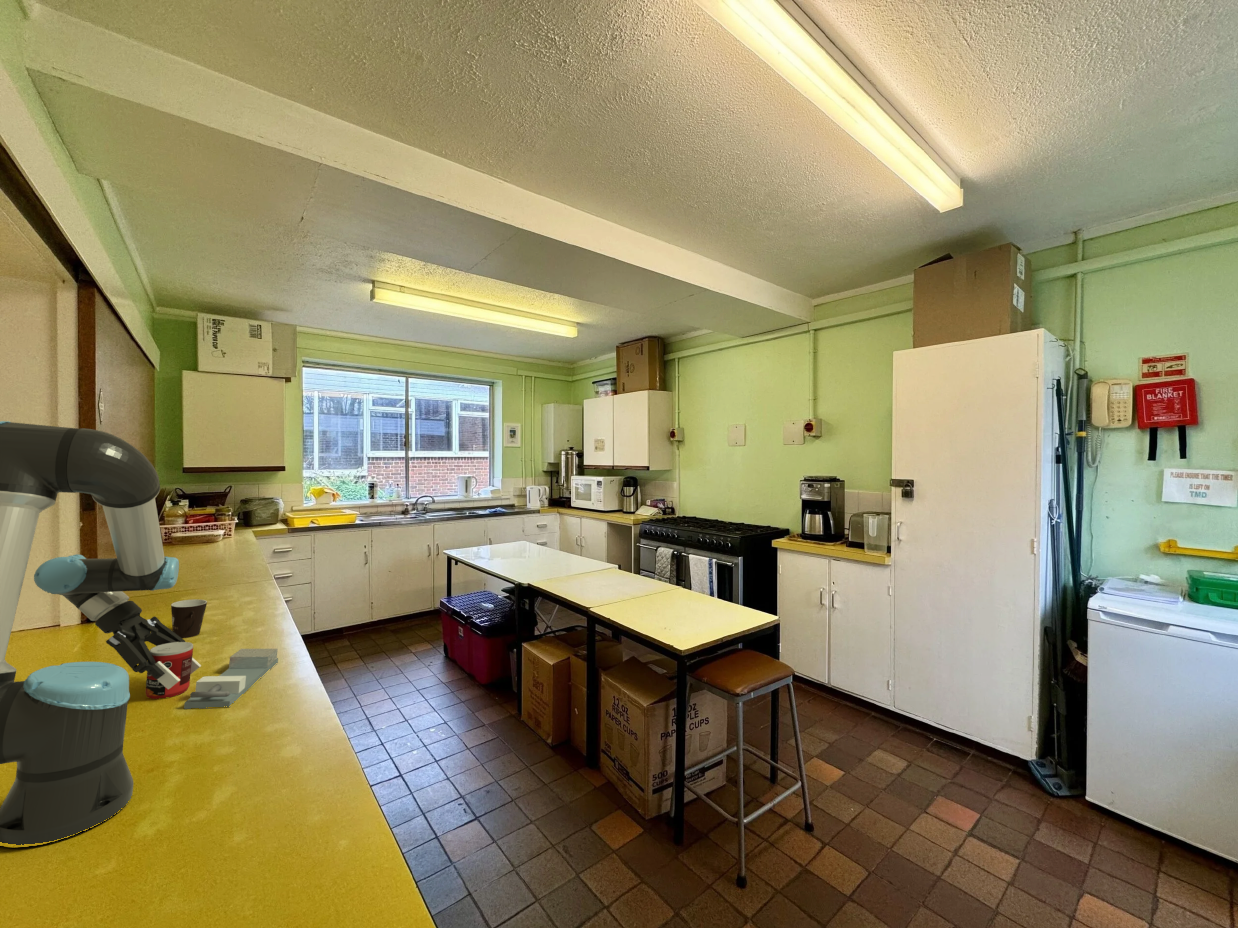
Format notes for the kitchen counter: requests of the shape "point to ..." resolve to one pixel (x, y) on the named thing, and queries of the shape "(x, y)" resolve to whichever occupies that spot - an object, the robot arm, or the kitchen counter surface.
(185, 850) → the kitchen counter surface
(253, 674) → the vise base
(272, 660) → the block
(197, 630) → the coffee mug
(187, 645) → the canned food
